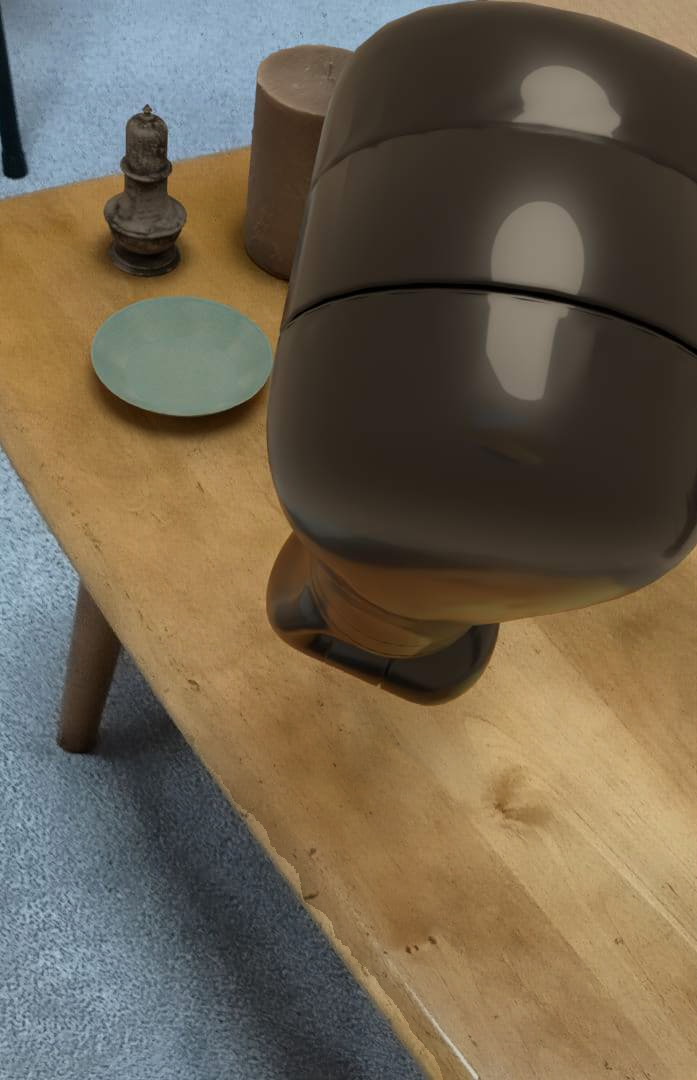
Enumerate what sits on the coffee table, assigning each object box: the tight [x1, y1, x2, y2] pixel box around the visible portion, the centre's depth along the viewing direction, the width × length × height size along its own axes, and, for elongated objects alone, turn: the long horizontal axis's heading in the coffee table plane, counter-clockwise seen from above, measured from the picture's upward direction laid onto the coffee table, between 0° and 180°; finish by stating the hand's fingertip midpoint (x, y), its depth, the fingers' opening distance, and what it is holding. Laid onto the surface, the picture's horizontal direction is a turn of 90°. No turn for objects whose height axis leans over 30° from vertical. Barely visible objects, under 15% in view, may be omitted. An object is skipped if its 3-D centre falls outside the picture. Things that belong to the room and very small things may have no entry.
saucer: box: [90, 295, 274, 418], centre depth 82 cm, size 12×12×2 cm
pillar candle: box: [243, 43, 354, 281], centre depth 88 cm, size 10×10×15 cm
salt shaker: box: [102, 103, 188, 278], centre depth 86 cm, size 6×6×12 cm
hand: (550, 231), depth 78 cm, fingers closed on wooden block, 4 cm apart
